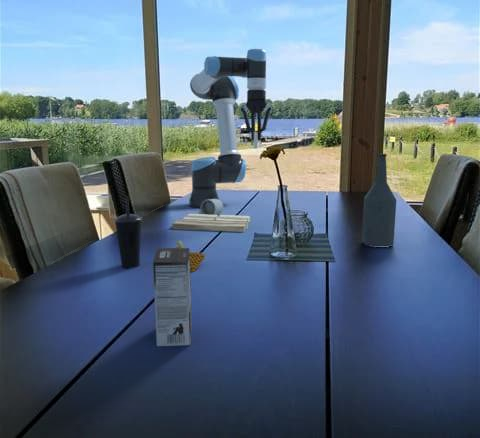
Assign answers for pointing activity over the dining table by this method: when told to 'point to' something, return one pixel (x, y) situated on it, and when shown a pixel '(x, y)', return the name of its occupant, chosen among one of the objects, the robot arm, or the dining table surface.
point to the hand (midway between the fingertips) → (256, 148)
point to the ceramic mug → (211, 207)
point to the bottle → (379, 210)
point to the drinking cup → (129, 237)
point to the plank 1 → (201, 216)
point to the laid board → (210, 225)
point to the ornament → (193, 257)
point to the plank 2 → (233, 218)
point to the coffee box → (172, 296)
